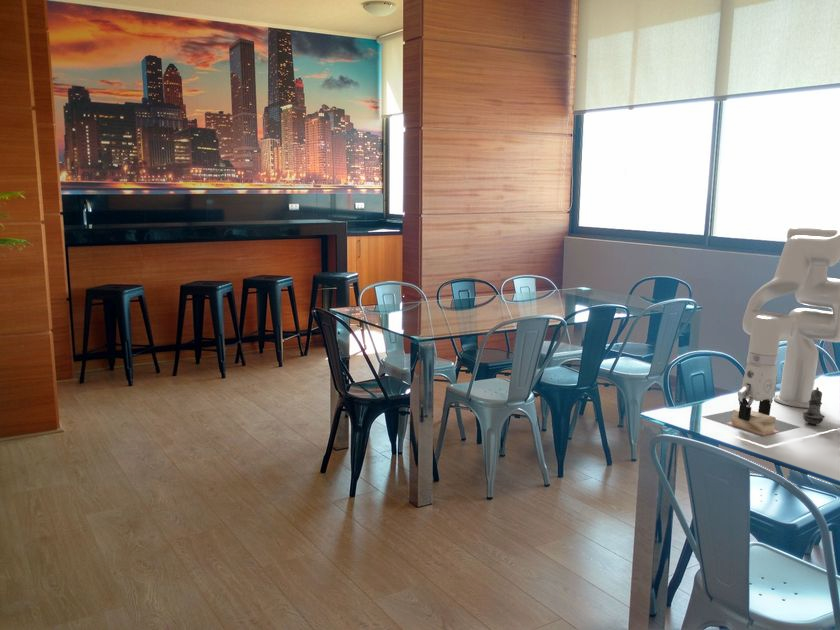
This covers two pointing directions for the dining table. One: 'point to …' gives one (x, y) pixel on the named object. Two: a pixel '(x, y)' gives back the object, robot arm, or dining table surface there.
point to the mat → (727, 420)
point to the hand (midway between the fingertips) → (753, 417)
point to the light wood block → (755, 421)
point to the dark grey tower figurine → (814, 409)
